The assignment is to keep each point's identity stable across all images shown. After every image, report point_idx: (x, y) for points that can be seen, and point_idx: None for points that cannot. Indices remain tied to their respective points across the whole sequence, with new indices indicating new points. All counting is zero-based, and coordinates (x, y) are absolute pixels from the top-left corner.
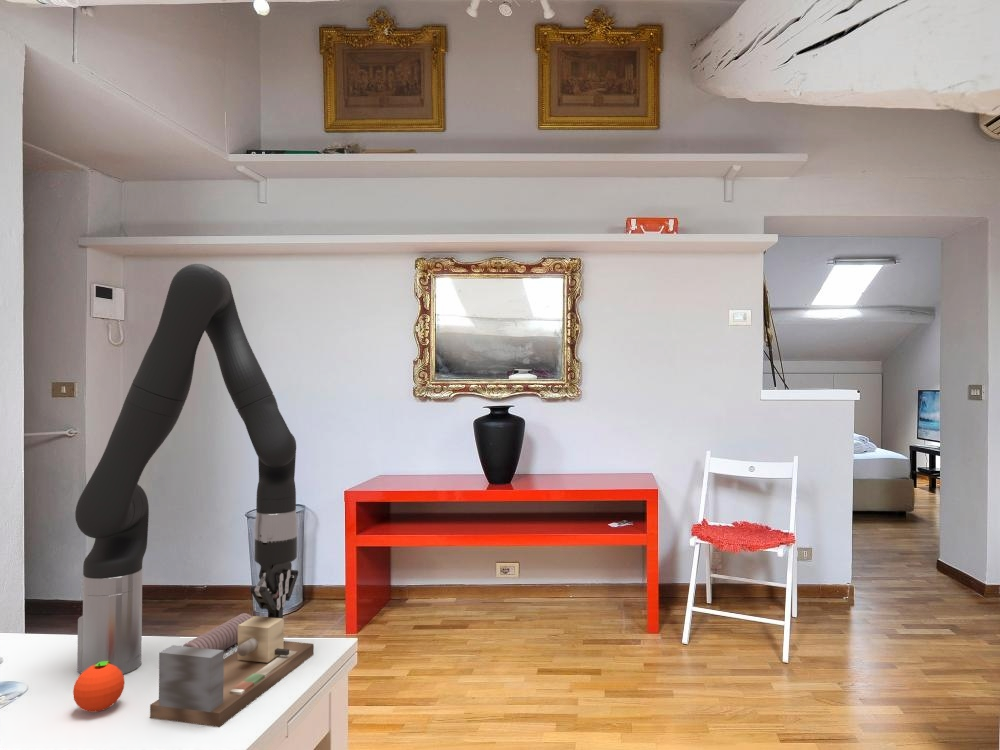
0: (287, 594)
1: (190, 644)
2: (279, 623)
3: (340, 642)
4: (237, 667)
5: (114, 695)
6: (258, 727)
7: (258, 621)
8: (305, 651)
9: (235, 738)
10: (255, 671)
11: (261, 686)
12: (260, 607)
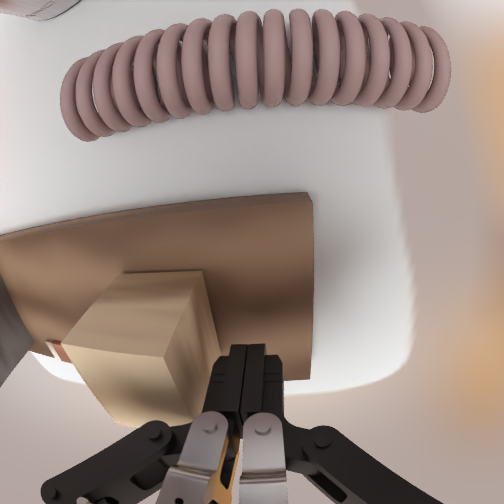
0: (309, 480)
1: (60, 103)
2: None
3: (387, 366)
4: (100, 294)
5: None
6: (65, 376)
7: (129, 391)
8: None
9: (42, 362)
10: None
11: None
12: (141, 428)
